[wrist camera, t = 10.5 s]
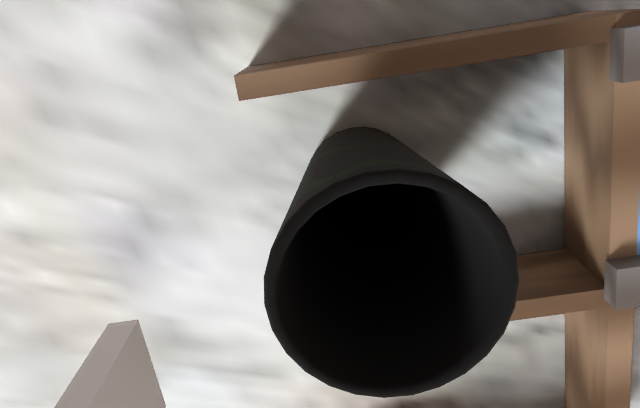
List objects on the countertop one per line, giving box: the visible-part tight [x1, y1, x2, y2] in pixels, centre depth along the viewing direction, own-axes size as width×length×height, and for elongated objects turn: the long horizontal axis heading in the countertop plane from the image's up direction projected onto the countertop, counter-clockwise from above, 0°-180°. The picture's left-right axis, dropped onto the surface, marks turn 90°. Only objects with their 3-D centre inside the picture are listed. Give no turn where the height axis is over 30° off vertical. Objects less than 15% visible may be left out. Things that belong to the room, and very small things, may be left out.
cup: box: [264, 127, 519, 398], centre depth 21 cm, size 8×8×12 cm
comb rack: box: [234, 9, 640, 408], centre depth 26 cm, size 25×17×6 cm
